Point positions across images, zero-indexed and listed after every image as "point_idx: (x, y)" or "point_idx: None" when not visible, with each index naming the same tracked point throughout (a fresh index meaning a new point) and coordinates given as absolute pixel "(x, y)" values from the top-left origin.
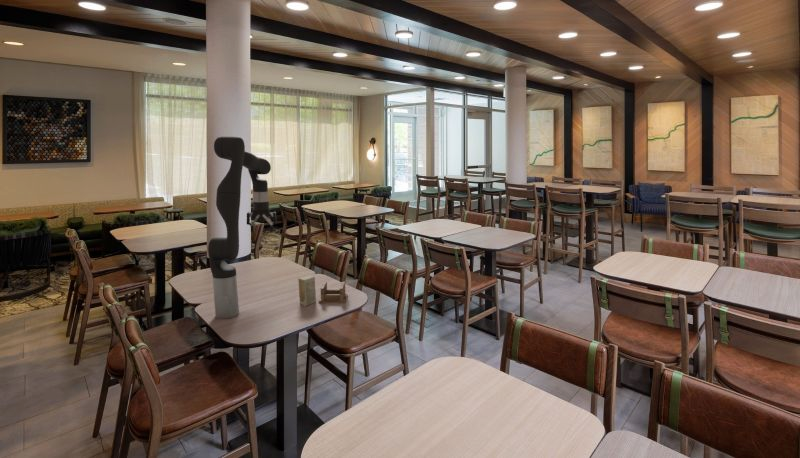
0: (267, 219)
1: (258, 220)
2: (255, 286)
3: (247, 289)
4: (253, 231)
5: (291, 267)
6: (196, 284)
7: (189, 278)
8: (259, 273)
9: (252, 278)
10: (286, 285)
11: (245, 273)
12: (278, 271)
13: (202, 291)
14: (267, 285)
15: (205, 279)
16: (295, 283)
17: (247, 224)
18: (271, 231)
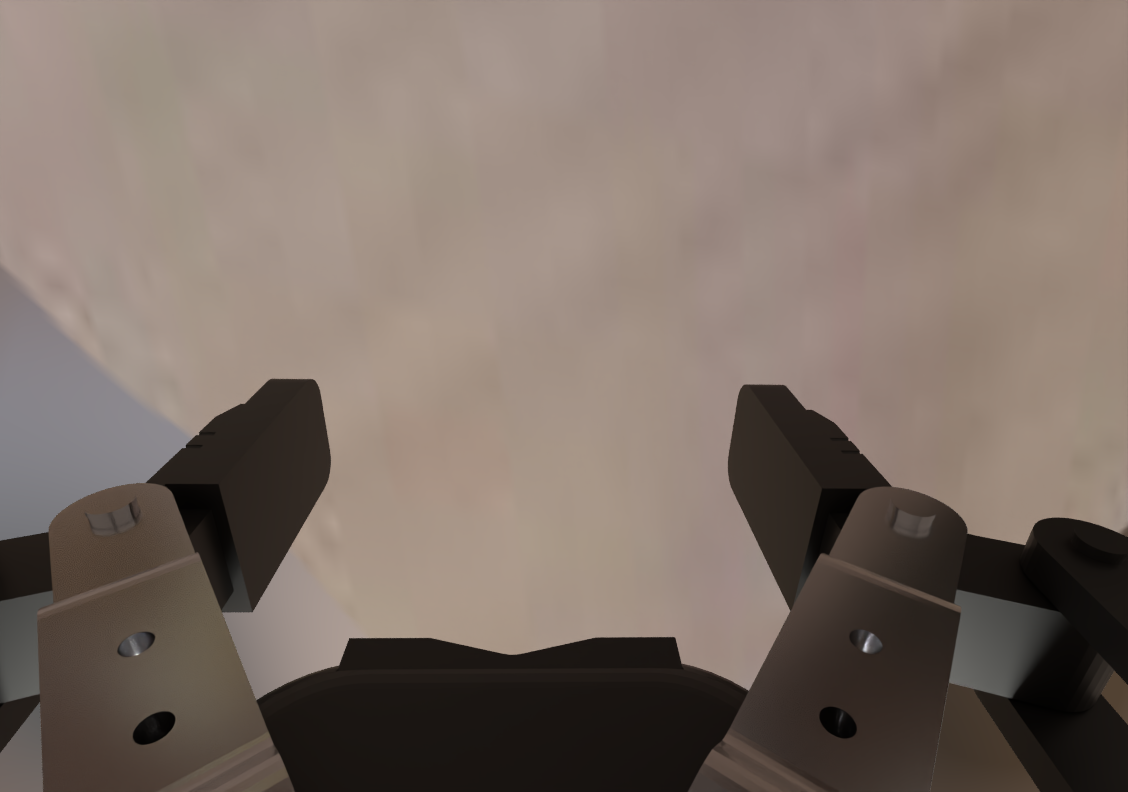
0: (127, 660)
1: (672, 666)
2: (616, 165)
3: (680, 89)
4: (765, 395)
5: (385, 591)
6: (1063, 314)
7: (1089, 462)
8: (606, 495)
9: (651, 386)
10: (347, 138)
11: (706, 510)
12: (469, 518)
13: (1044, 114)
14: (516, 174)
15: (987, 422)
16: (275, 183)
17: (1080, 524)
18: (266, 388)
